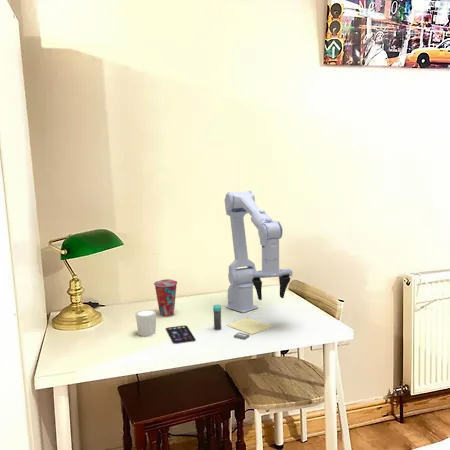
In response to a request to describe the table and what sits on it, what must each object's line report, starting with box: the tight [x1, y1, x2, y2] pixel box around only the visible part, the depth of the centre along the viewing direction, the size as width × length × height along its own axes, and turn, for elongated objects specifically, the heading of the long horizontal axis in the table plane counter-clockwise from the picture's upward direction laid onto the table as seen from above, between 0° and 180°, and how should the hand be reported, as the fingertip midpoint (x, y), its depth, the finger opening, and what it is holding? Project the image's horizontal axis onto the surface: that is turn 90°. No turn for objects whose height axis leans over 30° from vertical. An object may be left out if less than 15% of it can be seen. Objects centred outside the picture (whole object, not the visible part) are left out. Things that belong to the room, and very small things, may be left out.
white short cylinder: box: [135, 309, 157, 337], centre depth 167 cm, size 7×7×7 cm
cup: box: [153, 278, 178, 318], centre depth 185 cm, size 9×8×12 cm
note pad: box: [226, 317, 273, 336], centre depth 172 cm, size 12×10×1 cm
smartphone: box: [165, 324, 197, 345], centre depth 166 cm, size 8×1×15 cm
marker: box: [212, 304, 222, 331], centre depth 169 cm, size 3×3×8 cm
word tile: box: [233, 332, 250, 340], centre depth 162 cm, size 4×3×1 cm
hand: (270, 298), depth 169 cm, fingers open, 7 cm apart
